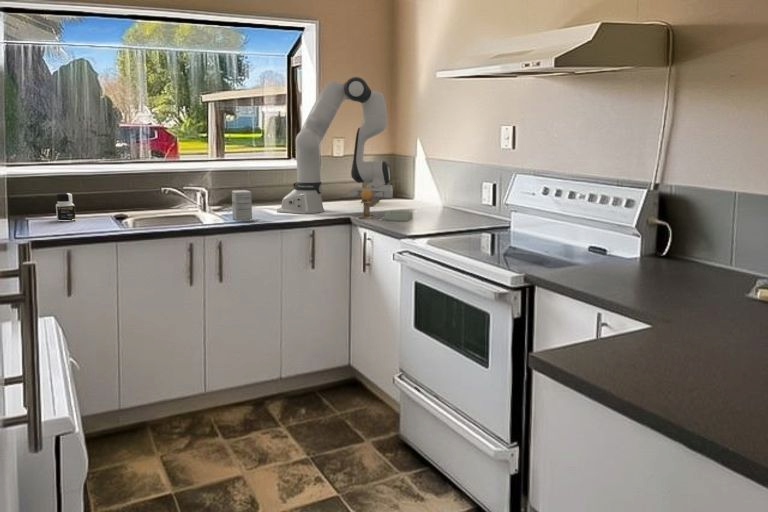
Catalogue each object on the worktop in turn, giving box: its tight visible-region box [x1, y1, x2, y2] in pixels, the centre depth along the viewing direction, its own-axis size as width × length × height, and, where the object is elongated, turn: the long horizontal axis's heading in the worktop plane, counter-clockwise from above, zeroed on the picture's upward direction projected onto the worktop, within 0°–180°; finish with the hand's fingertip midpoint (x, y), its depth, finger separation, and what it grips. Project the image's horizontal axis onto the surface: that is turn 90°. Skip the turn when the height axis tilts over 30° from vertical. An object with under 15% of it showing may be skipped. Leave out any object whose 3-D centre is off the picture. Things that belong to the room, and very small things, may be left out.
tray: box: [384, 210, 413, 222], centre depth 332 cm, size 10×10×3 cm
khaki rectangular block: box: [361, 182, 381, 207], centre depth 383 cm, size 22×10×15 cm, turn 1°
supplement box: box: [231, 189, 253, 221], centre depth 329 cm, size 7×7×13 cm
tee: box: [358, 199, 376, 220], centre depth 335 cm, size 6×6×8 cm
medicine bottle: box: [55, 192, 77, 220], centre depth 323 cm, size 7×7×12 cm
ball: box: [360, 189, 372, 200], centre depth 334 cm, size 5×5×5 cm
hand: (366, 194), depth 334 cm, fingers open, 8 cm apart
